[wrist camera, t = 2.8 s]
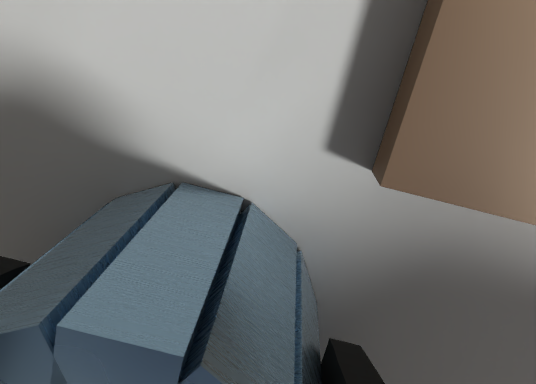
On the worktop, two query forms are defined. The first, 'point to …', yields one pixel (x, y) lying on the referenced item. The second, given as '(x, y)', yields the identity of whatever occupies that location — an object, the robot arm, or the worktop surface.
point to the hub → (164, 298)
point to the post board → (467, 110)
